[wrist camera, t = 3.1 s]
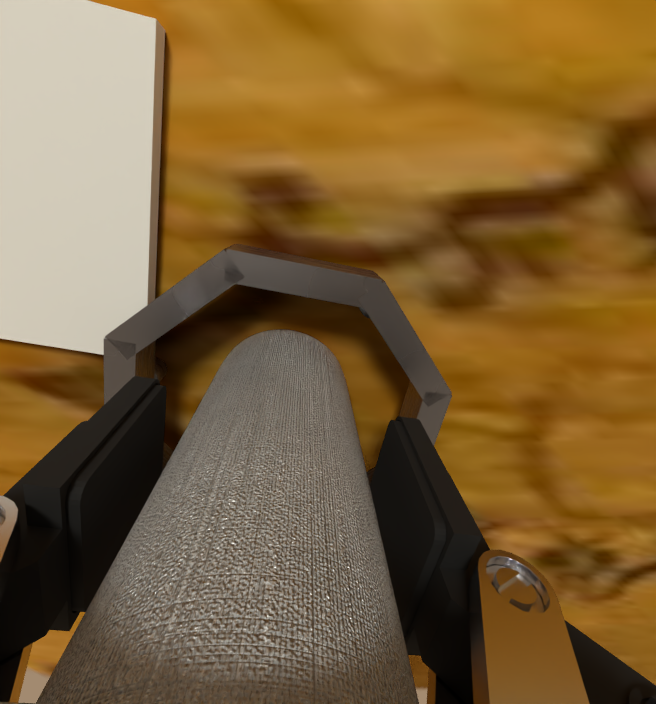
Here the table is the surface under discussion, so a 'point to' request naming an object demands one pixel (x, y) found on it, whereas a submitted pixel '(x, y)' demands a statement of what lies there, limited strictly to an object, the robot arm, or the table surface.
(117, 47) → the coaster
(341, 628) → the gray hollow cylinder
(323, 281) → the ring stand
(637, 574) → the table surface
